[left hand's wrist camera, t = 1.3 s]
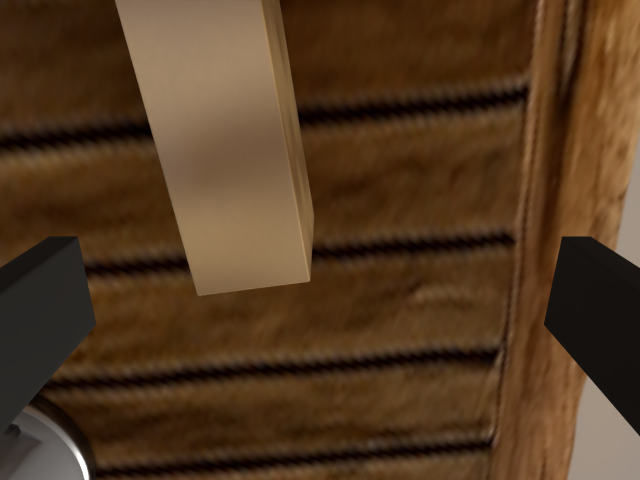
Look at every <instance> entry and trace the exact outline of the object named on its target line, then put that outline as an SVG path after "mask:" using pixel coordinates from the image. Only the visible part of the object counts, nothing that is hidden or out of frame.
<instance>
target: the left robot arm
mask: <svg viewBox="0 0 640 480" xmlns="http://www.w3.org/2000/svg"><path fill="white" fill-rule="evenodd" d="M95 325H96V321H95V317H94V312H93V307H92V302H91V297H90V293H89V288H88V283H87V278H86V274H85V269H84V264H83V259H82V254H81V250H80V245H79V240H78V237H48V238H46V239H45V240H43V241H42V242H40V243H39V244H37V245H36V246H34V247H32V248H31V249H29V250H28V251H26V252H25V253H23V254H21V255H20V256H18V257H17V258H15V259H14V260H12V261H10V262H9V263H7V264H6V265H4V266H3V267H1V268H0V480H95V479H96V465H95V460H94V456H93V453H92V450H91V448H90V446H89V444H88V442H87V440H86V439H85V437H84V435H83V434H82V433H81V431H80V430H79V429H78V427H77V426H76V425H75V424H74V423H73V422H72V421H71V420H70V419H69V418H68V417H67V416H66V415H65V414H63V413H62V412H61V411H60V410H58V409H57V408H56V407H54V406H53V405H51V404H50V403H48V402H47V401H45V400H43V399H41V398H40V397H38V396H36V394H37V393H38V392H39V390H40V389H41V388H42V387H43V386H44V385H45V383H46V382H47V381H48V380H49V379H50V378H51V376H52V375H53V374H54V373H55V372H56V371H57V369H58V368H59V367H60V366H61V365H62V364H63V362H64V361H65V360H66V359H67V358H68V357H69V355H70V354H71V353H72V352H73V351H74V350H75V348H76V347H77V346H78V345H79V344H80V343H81V341H82V340H83V339H84V338H85V337H86V336H87V334H88V333H89V332H90V331H91V330H92V329H93V328H94V326H95ZM544 325H545V326H546V328H547V329H548V330H549V331H550V332H551V333H552V334H553V336H554V337H555V338H556V339H557V340H558V341H559V343H560V344H561V345H562V346H563V347H564V348H565V350H566V351H567V352H568V353H569V354H570V355H571V357H572V358H573V359H574V360H575V361H576V362H577V364H578V365H579V366H580V367H581V368H582V369H583V371H584V372H585V373H586V374H587V375H588V376H589V378H590V379H591V380H592V381H593V382H594V383H595V385H596V386H597V387H598V388H599V389H600V390H601V391H602V393H603V394H604V395H605V396H606V397H607V398H608V400H609V401H610V402H611V403H612V404H613V405H614V407H615V408H616V409H617V410H618V411H619V412H620V414H621V415H622V416H623V417H624V418H625V419H626V421H627V422H628V423H629V424H630V425H631V426H632V428H633V429H634V430H635V431H636V432H637V433H638V435H639V436H640V268H639V267H637V266H636V265H634V264H633V263H631V262H630V261H628V260H626V259H625V258H623V257H622V256H620V255H619V254H617V253H615V252H614V251H612V250H611V249H609V248H608V247H606V246H604V245H603V244H601V243H600V242H598V241H597V240H595V239H594V238H592V237H562V240H561V245H560V250H559V254H558V259H557V264H556V269H555V273H554V278H553V283H552V288H551V293H550V297H549V302H548V307H547V312H546V316H545V321H544Z"/></svg>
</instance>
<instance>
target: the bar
mask: <svg viewBox="0 0 640 480" xmlns="http://www.w3.org/2000/svg"><path fill="white" fill-rule="evenodd" d="M115 2H116V6H117V9H118V13H119V17H120V20H121V24H122V27H123V31H124V34H125V38H126V42H127V45H128V49H129V52H130V56H131V59H132V63H133V67H134V70H135V74H136V77H137V81H138V84H139V88H140V92H141V95H142V99H143V102H144V106H145V109H146V113H147V117H148V120H149V124H150V127H151V131H152V134H153V138H154V142H155V145H156V149H157V152H158V156H159V159H160V163H161V167H162V170H163V174H164V177H165V181H166V184H167V188H168V192H169V195H170V199H171V202H172V206H173V209H174V213H175V217H176V220H177V224H178V227H179V231H180V235H181V238H182V242H183V245H184V249H185V252H186V256H187V260H188V263H189V267H190V270H191V274H192V277H193V281H194V285H195V288H196V292H197V295H198V296H201V295H208V294H216V293H224V292H231V291H239V290H247V289H255V288H262V287H270V286H278V285H285V284H293V283H301V282H308V281H310V272H311V257H312V241H313V226H314V212H313V206H312V200H311V194H310V188H309V181H308V175H307V169H306V163H305V157H304V151H303V144H302V138H301V132H300V126H299V120H298V113H297V107H296V101H295V95H294V89H293V82H292V76H291V70H290V64H289V58H288V51H287V45H286V39H285V33H284V27H283V20H282V14H281V8H280V2H279V0H115Z"/></svg>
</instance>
